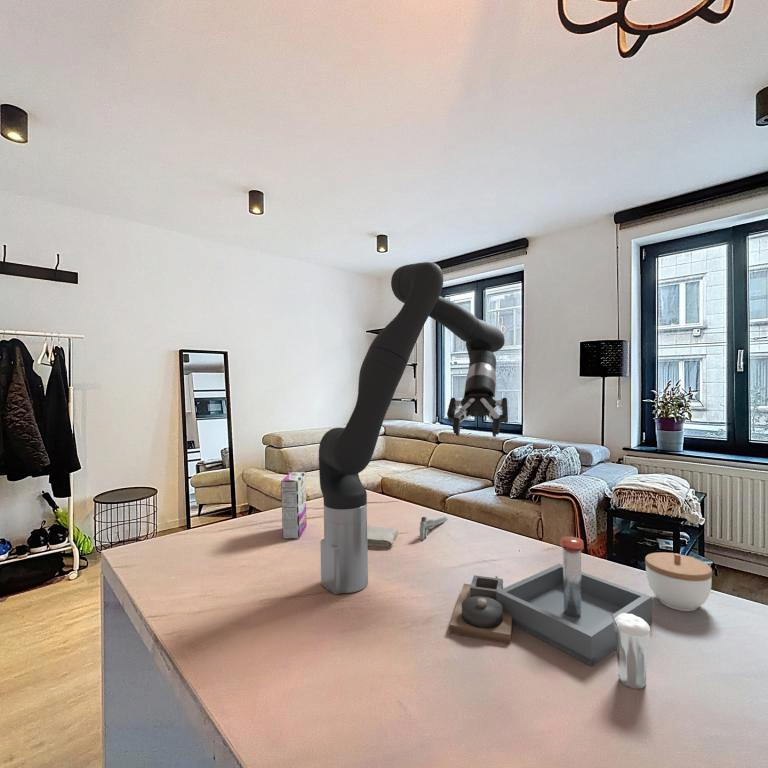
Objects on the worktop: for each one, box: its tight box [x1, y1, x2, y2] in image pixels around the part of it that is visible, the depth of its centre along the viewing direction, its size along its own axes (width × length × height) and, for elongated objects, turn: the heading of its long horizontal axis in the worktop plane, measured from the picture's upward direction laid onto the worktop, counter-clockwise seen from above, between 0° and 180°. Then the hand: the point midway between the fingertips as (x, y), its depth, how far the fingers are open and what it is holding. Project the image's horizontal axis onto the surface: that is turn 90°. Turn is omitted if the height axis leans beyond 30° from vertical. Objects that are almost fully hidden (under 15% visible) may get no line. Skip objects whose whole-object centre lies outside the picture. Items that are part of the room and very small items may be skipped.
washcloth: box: [367, 525, 399, 550], centre depth 122 cm, size 12×18×3 cm, turn 79°
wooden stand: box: [449, 574, 513, 644], centre depth 82 cm, size 16×10×4 cm, turn 161°
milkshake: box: [610, 612, 651, 690], centre depth 63 cm, size 4×5×10 cm
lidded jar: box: [644, 551, 713, 612], centre depth 85 cm, size 11×11×9 cm
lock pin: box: [560, 535, 584, 618], centre depth 80 cm, size 4×4×13 cm
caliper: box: [419, 516, 448, 541], centre depth 129 cm, size 20×1×6 cm, turn 153°
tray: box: [496, 563, 653, 667], centre depth 80 cm, size 20×18×4 cm
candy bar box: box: [280, 471, 307, 540], centre depth 128 cm, size 11×5×16 cm, turn 179°
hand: (475, 434), depth 103 cm, fingers open, 8 cm apart
